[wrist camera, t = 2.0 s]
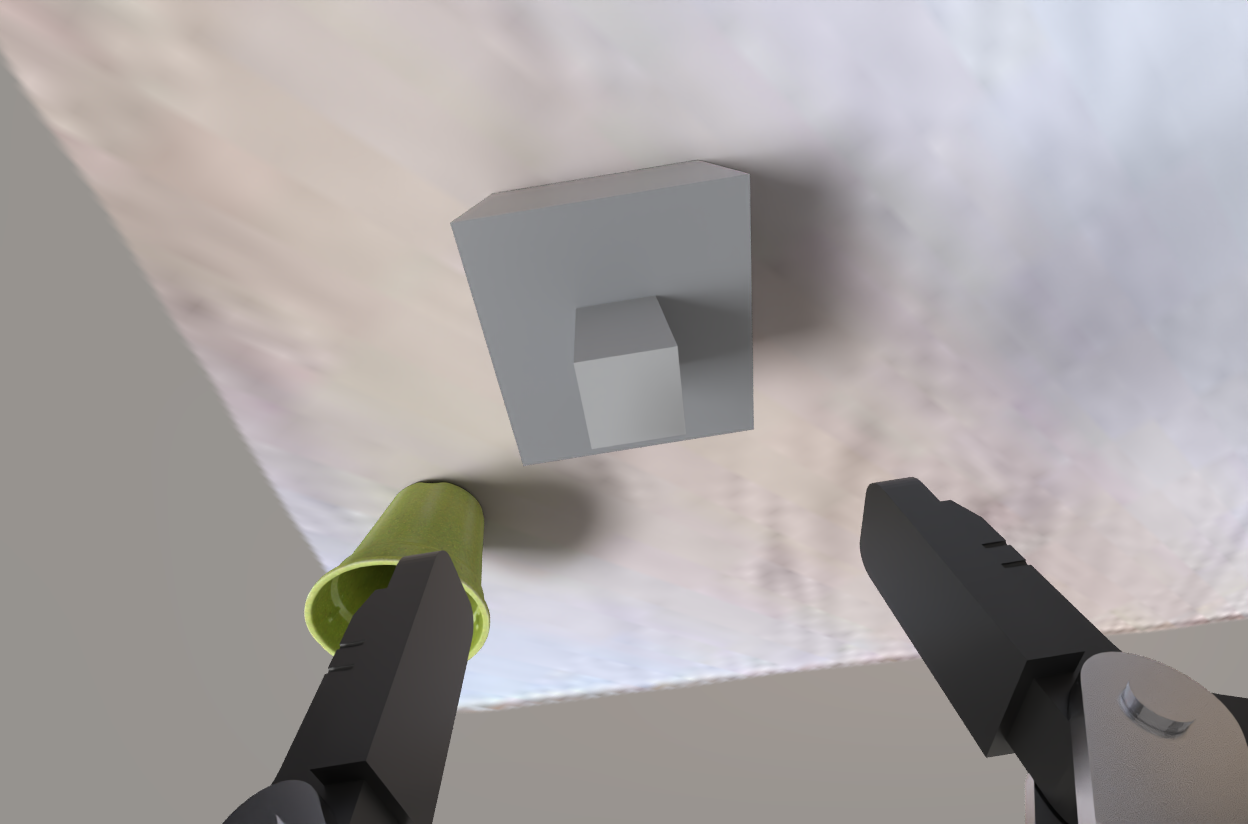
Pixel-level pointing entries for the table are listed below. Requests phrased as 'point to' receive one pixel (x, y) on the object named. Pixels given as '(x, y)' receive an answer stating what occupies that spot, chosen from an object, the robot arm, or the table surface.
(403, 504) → the plant pot
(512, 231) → the grey block with knob
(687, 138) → the table surface
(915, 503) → the robot arm
